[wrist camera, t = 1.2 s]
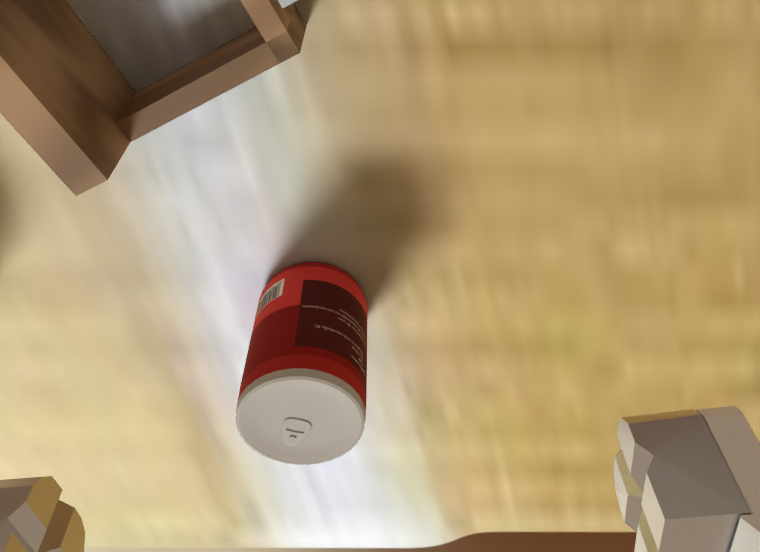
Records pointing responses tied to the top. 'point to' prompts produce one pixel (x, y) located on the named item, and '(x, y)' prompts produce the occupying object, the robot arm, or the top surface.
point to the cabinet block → (286, 2)
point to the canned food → (306, 367)
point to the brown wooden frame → (114, 83)
